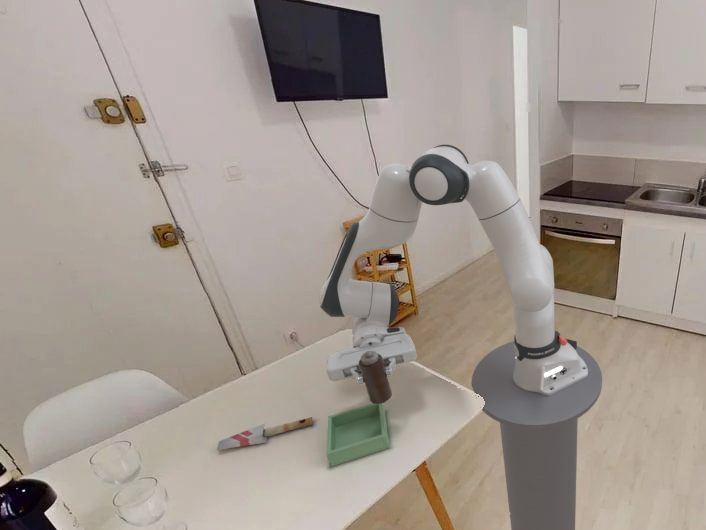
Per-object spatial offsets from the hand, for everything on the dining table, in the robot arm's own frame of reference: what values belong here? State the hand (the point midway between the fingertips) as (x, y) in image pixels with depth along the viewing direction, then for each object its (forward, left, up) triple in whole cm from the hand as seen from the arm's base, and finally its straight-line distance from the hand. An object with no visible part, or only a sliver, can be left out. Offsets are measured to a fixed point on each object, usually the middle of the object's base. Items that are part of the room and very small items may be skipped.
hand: (375, 377), depth 93 cm
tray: (+7, -1, -17) cm, 19 cm away
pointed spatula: (+28, -11, -17) cm, 35 cm away
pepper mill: (0, -1, -6) cm, 7 cm away
